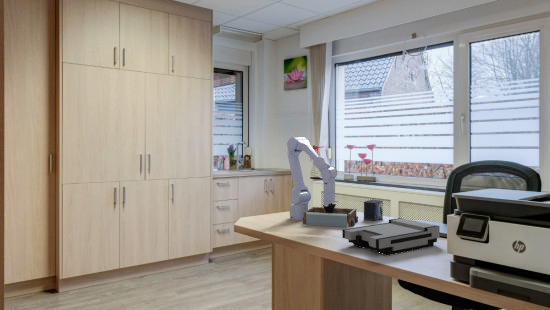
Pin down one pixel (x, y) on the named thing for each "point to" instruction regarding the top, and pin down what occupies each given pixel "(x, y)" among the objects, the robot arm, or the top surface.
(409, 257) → the top surface
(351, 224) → the cart bed
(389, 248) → the game console
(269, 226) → the top surface
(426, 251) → the top surface
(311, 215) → the tailgate
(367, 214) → the small box
